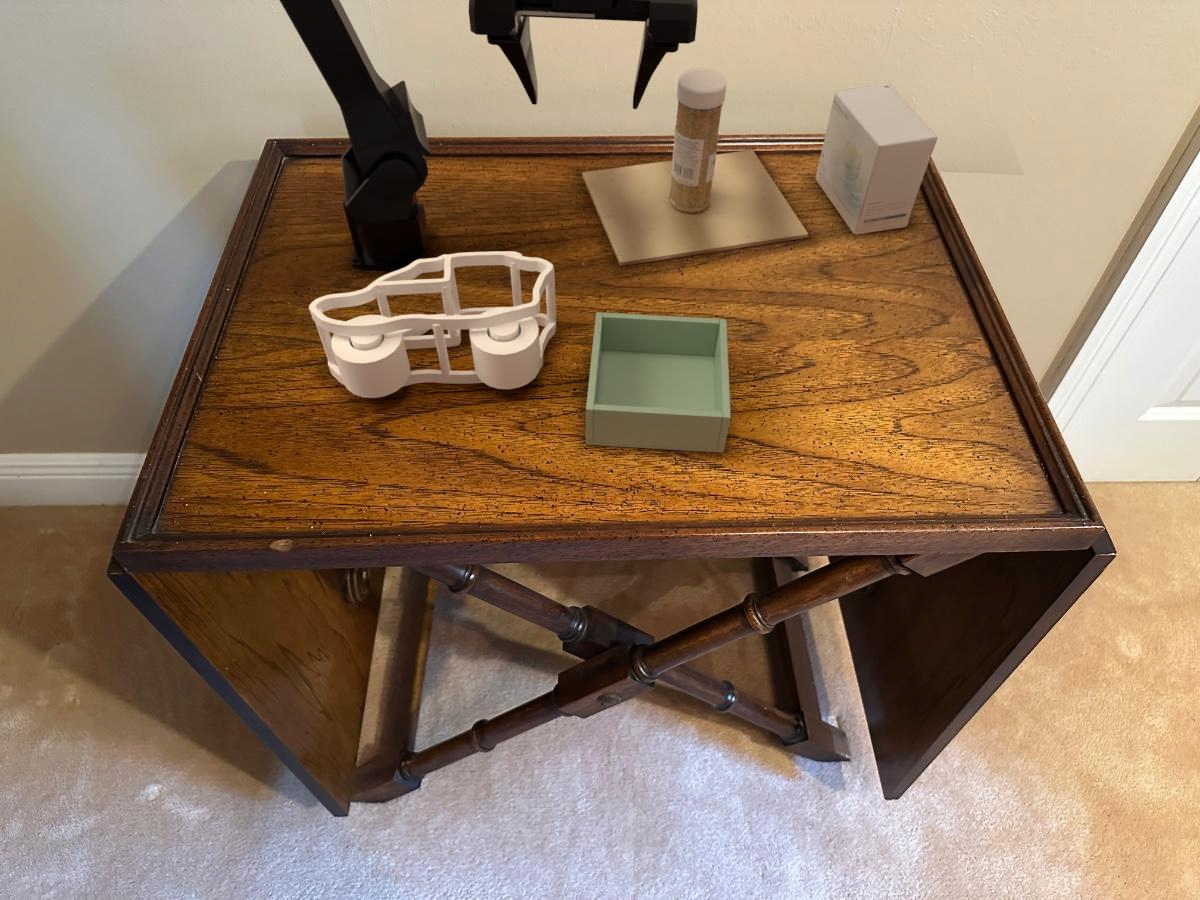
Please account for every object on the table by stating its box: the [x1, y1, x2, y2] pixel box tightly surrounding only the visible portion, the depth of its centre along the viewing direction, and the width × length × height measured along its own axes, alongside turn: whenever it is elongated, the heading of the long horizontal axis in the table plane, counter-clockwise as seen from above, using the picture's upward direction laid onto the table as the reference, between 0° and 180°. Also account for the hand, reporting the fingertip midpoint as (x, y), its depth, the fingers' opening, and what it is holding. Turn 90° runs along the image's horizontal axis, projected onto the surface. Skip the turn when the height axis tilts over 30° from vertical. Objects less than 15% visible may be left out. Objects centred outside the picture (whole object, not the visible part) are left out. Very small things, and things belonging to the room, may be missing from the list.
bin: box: [585, 311, 732, 454], centre depth 69 cm, size 11×11×4 cm
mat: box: [581, 149, 809, 267], centre depth 88 cm, size 20×16×1 cm
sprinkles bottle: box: [669, 68, 728, 213], centre depth 83 cm, size 5×5×14 cm
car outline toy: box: [308, 250, 557, 399], centre depth 70 cm, size 20×11×7 cm, turn 96°
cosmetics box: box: [814, 82, 938, 236], centre depth 85 cm, size 10×6×10 cm, turn 14°
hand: (584, 104), depth 76 cm, fingers open, 9 cm apart
